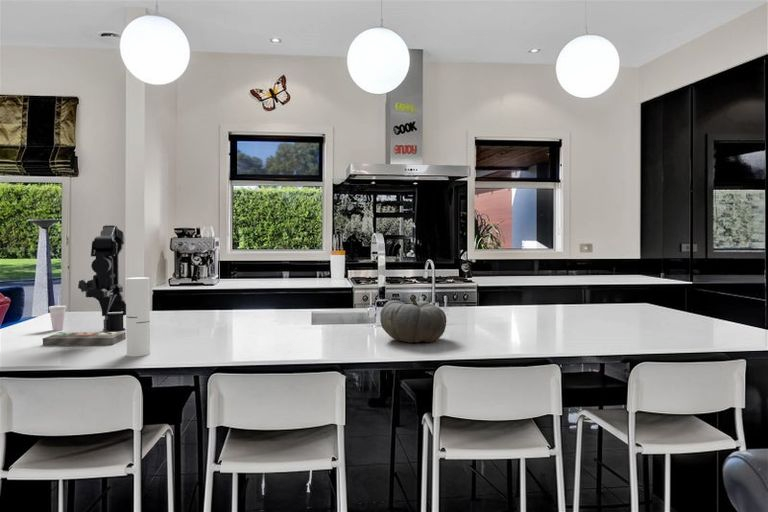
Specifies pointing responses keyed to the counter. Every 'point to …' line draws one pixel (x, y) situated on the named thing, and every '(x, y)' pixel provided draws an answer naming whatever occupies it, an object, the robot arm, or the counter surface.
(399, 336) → the gourd
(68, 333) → the tile two
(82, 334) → the tile one
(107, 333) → the tile three
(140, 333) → the cylindrical container
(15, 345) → the counter surface
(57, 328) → the smoothie
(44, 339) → the tile board
